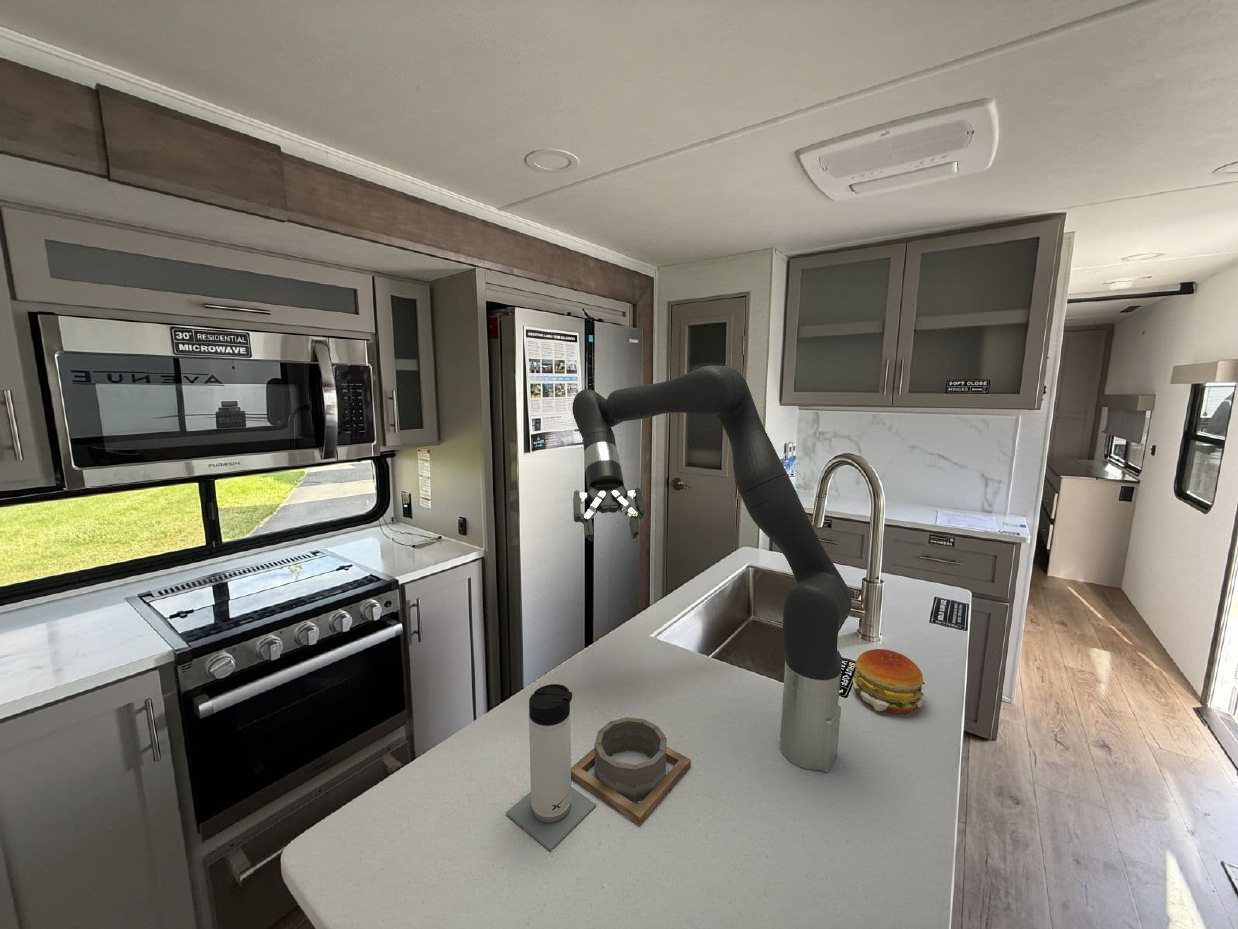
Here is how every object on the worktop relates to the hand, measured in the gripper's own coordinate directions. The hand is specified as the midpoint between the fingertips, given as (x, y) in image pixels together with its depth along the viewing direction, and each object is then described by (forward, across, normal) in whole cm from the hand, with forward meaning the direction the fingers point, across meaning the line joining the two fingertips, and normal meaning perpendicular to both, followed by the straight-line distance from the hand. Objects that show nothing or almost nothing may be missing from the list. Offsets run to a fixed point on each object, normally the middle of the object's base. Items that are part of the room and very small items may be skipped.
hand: (613, 538), depth 97 cm
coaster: (+42, -14, +10) cm, 45 cm away
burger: (+32, +57, +20) cm, 69 cm away
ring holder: (+38, 0, +14) cm, 40 cm away
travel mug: (+41, -14, +10) cm, 45 cm away
